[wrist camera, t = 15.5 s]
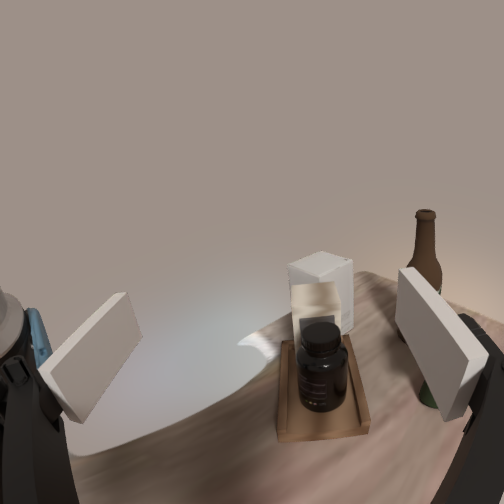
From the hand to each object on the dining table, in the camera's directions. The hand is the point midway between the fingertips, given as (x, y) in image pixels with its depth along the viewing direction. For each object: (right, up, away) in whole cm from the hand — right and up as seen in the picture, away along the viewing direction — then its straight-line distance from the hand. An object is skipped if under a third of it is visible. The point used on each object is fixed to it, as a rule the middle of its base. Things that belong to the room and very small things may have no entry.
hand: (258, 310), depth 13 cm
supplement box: (+14, -13, +44) cm, 48 cm away
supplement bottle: (+10, -18, +25) cm, 32 cm away
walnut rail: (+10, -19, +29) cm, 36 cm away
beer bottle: (+31, -13, +36) cm, 49 cm away
